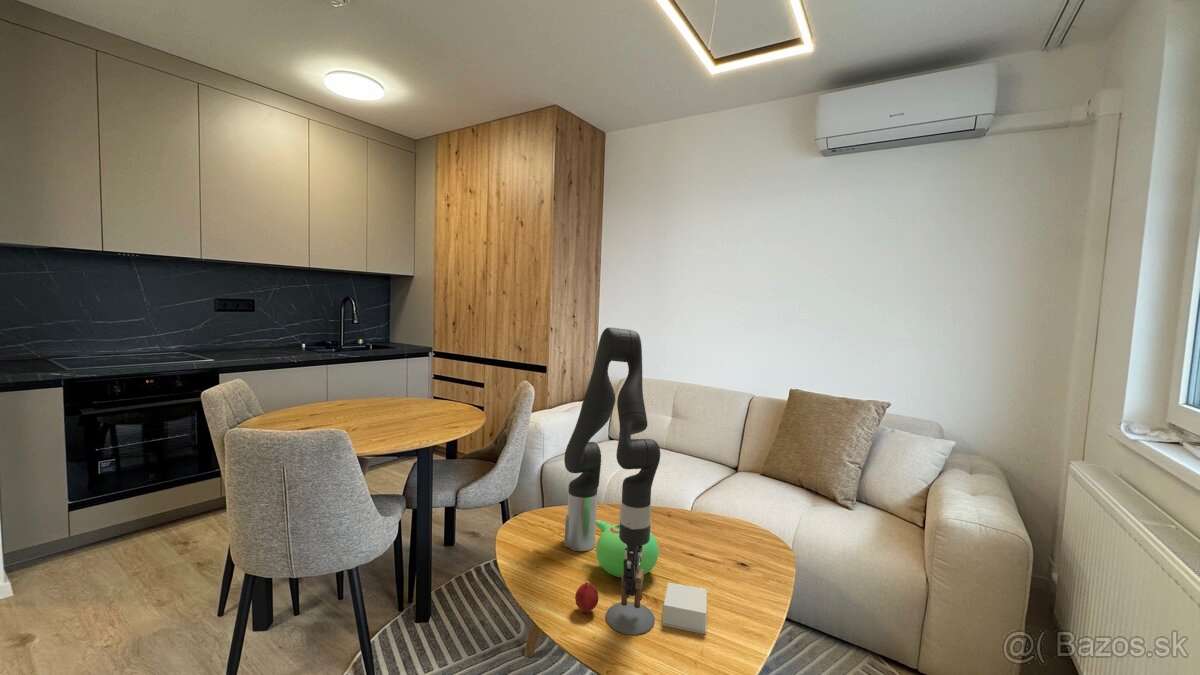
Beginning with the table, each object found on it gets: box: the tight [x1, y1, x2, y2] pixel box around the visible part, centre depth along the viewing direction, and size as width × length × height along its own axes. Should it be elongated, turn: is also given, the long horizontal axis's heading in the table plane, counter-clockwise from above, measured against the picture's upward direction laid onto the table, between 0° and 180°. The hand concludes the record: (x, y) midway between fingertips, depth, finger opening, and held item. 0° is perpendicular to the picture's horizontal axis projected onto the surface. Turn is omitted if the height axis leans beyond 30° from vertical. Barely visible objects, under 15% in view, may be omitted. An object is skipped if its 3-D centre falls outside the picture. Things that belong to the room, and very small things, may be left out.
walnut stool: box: [620, 569, 645, 608], centre depth 114 cm, size 5×5×7 cm
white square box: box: [661, 581, 708, 635], centre depth 116 cm, size 10×10×5 cm
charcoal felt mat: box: [605, 601, 656, 636], centre depth 114 cm, size 12×12×1 cm
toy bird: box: [595, 519, 660, 578], centre depth 134 cm, size 18×17×15 cm
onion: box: [574, 580, 599, 614], centre depth 116 cm, size 6×6×8 cm
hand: (632, 588), depth 114 cm, fingers closed on walnut stool, 4 cm apart
